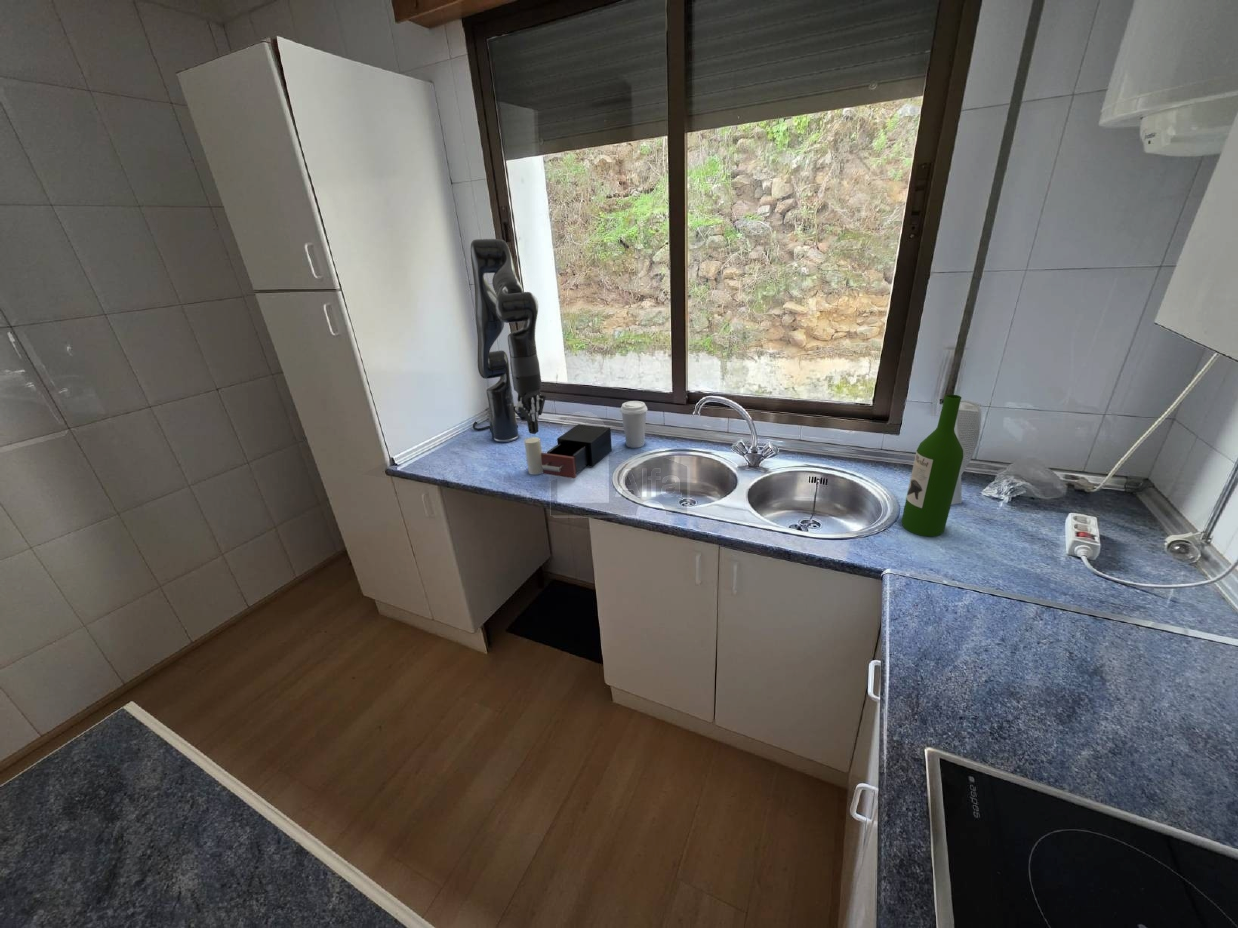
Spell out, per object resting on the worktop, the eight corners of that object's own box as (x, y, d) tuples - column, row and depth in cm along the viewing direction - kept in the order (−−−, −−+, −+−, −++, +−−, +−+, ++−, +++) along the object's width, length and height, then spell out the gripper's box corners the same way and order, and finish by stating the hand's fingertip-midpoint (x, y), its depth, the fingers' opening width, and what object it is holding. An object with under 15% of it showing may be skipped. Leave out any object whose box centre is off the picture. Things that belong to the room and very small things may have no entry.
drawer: (567, 484, 146) (565, 463, 143) (535, 479, 151) (533, 459, 148) (594, 461, 161) (592, 442, 158) (564, 457, 165) (562, 438, 162)
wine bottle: (892, 521, 120) (918, 393, 107) (922, 514, 122) (952, 388, 108) (921, 539, 112) (953, 404, 99) (953, 533, 114) (989, 399, 101)
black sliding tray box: (592, 467, 159) (590, 442, 155) (559, 462, 164) (556, 438, 160) (611, 450, 171) (610, 427, 167) (580, 446, 176) (578, 424, 172)
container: (525, 473, 157) (521, 442, 152) (534, 467, 161) (530, 436, 156) (538, 475, 155) (534, 443, 150) (547, 469, 159) (543, 438, 154)
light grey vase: (941, 509, 124) (968, 403, 112) (919, 496, 130) (942, 395, 119) (968, 504, 125) (997, 399, 114) (945, 491, 132) (970, 391, 120)
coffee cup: (617, 442, 177) (615, 403, 171) (641, 437, 180) (639, 398, 174) (629, 451, 169) (627, 410, 163) (653, 445, 172) (652, 405, 166)
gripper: (528, 365, 136) (535, 423, 143) (499, 377, 125) (508, 439, 132) (551, 366, 133) (557, 426, 140) (523, 379, 122) (531, 442, 129)
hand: (533, 432), depth 136 cm, fingers closed
